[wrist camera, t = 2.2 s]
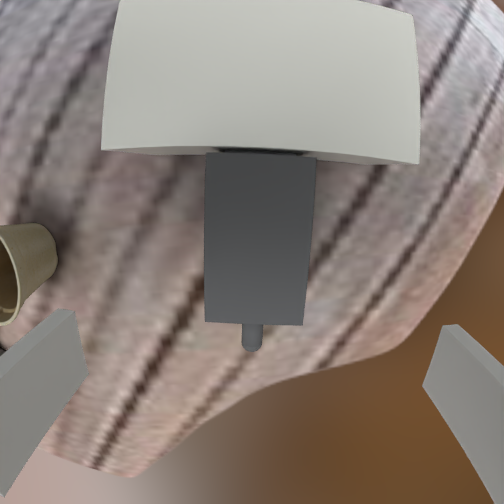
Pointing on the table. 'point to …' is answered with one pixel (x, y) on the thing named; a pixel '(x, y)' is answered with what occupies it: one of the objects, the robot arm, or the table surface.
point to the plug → (257, 239)
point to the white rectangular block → (264, 80)
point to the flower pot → (23, 265)
